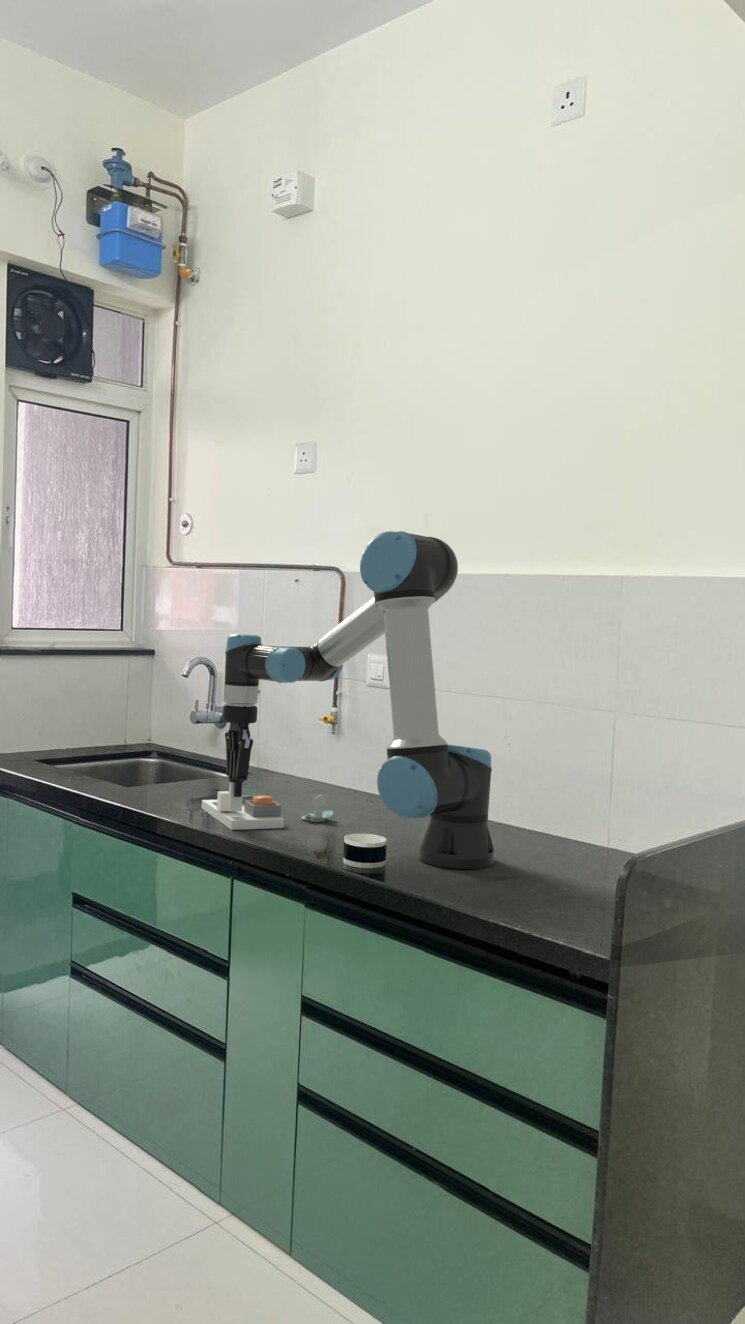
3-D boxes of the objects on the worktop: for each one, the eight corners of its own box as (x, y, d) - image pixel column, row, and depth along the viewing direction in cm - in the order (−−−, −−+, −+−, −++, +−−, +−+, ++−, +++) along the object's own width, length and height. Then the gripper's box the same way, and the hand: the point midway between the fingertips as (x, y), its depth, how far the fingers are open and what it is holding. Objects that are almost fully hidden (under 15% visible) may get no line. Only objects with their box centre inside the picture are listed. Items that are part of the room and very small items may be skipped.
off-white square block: (237, 811, 228) (238, 793, 228) (220, 811, 226) (221, 793, 226) (233, 808, 231) (234, 791, 230) (216, 808, 229) (217, 791, 229)
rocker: (256, 794, 237) (256, 788, 238) (241, 794, 236) (241, 788, 236) (248, 796, 243) (248, 790, 243) (234, 796, 241) (233, 790, 241)
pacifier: (295, 819, 235) (309, 824, 230) (296, 793, 234) (310, 796, 230) (322, 817, 239) (336, 822, 234) (323, 791, 239) (337, 795, 234)
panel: (284, 827, 224) (285, 807, 224) (231, 829, 219) (232, 809, 218) (250, 806, 245) (251, 788, 245) (201, 808, 240) (202, 789, 240)
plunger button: (274, 812, 227) (275, 798, 226) (256, 812, 225) (256, 799, 225) (268, 808, 231) (269, 795, 230) (250, 808, 229) (250, 795, 229)
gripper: (266, 707, 218) (260, 816, 219) (247, 701, 229) (242, 804, 231) (232, 707, 215) (227, 817, 216) (215, 701, 226) (210, 805, 227)
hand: (234, 810), depth 223 cm, fingers closed
